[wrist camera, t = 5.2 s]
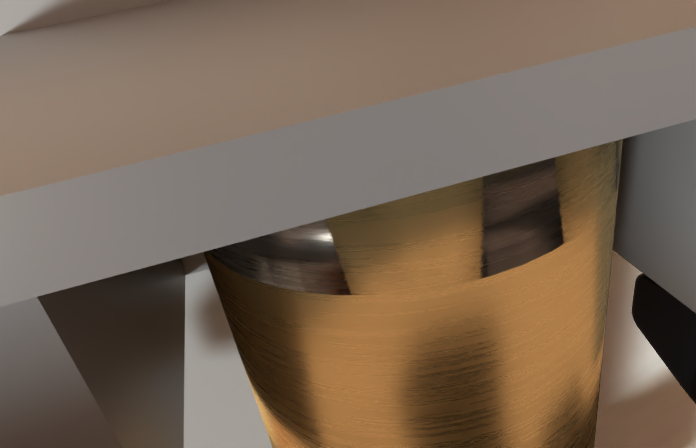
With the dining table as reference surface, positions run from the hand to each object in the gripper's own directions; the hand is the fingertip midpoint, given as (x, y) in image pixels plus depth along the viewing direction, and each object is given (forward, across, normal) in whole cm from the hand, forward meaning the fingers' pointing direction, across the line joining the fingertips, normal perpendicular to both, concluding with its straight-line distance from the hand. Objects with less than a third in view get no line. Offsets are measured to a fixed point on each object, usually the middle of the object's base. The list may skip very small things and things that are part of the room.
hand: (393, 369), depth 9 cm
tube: (0, 0, +2) cm, 2 cm away
